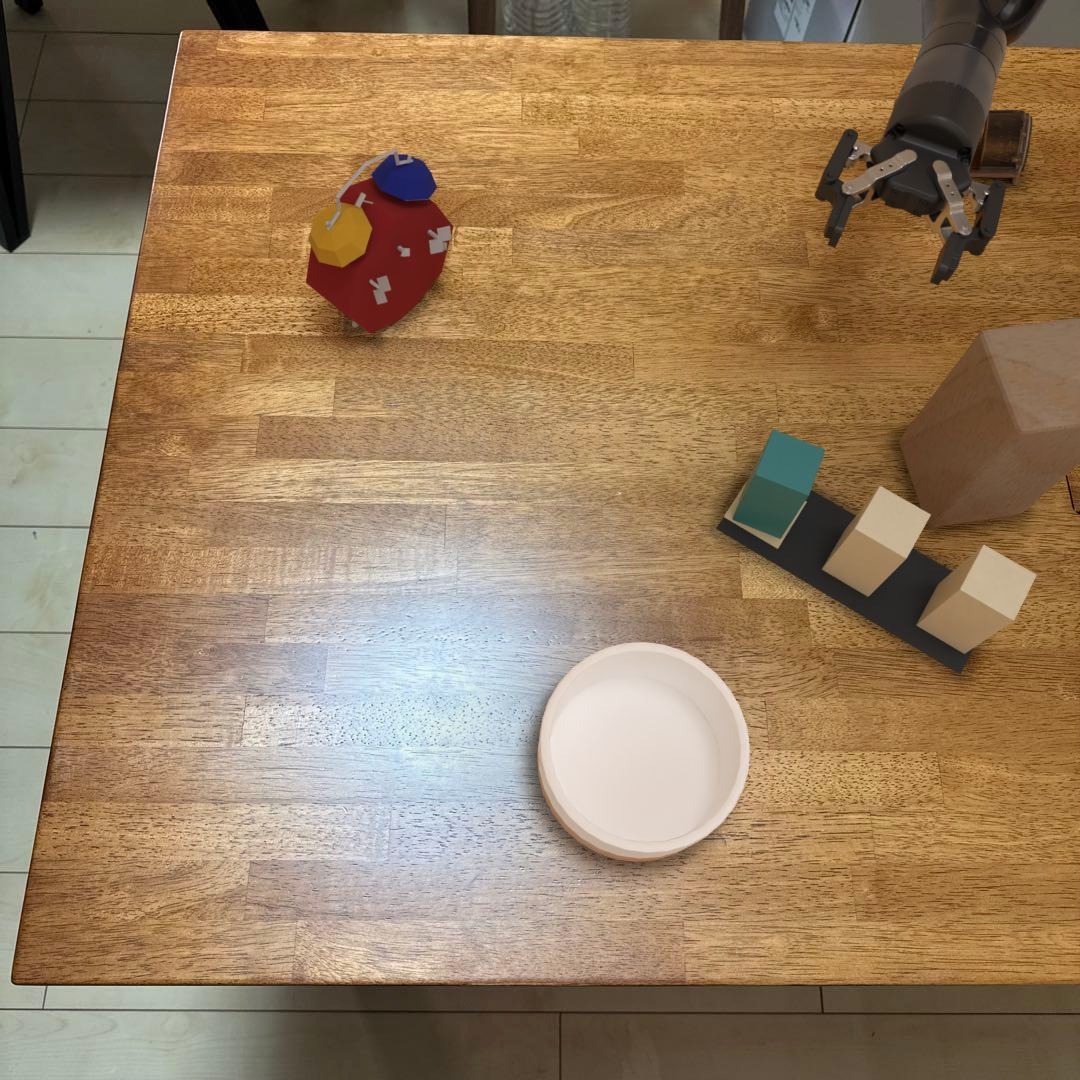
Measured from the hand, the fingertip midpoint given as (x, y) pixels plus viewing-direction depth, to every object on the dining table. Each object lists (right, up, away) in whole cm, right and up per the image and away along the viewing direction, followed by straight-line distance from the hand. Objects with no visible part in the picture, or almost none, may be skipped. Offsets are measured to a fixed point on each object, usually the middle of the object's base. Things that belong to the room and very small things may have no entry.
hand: (886, 259), depth 80 cm
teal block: (-5, -19, +19) cm, 28 cm away
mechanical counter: (+22, +22, +38) cm, 50 cm away
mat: (+3, -24, +18) cm, 31 cm away
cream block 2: (+11, -29, +16) cm, 35 cm away
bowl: (-19, -42, +10) cm, 47 cm away
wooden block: (+15, -16, +22) cm, 31 cm away
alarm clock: (-42, +3, +28) cm, 51 cm away
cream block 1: (+3, -24, +18) cm, 30 cm away
